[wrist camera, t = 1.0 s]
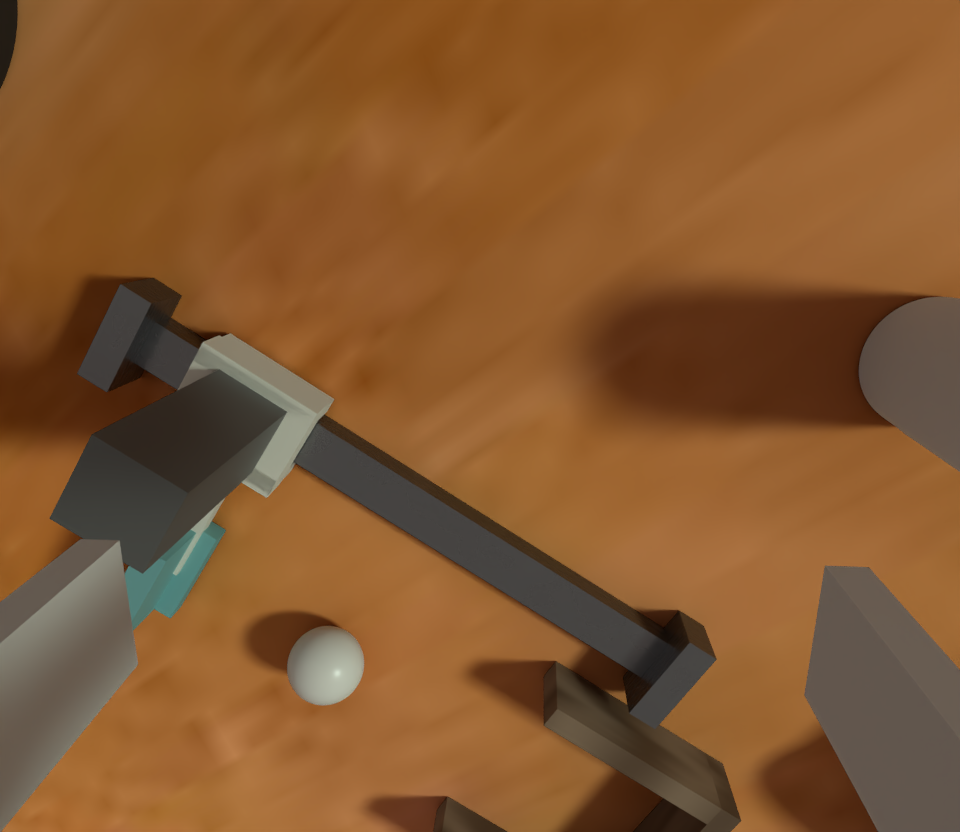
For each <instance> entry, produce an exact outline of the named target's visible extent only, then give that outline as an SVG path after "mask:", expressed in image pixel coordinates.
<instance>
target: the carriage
mask: <svg viewBox="0 0 960 832" xmlns="http://www.w3.org/2000/svg"><path fill="white" fill-rule="evenodd" d="M333 401H334V399H333V398H332V397H330V396H329V395H327V394H325V393H324V392H322V391H321V390H319V389H317V388H316V387H314V386H313V385H311V384H310V383H308V382H306V381H305V380H303V379H302V378H300V377H298V376H297V375H295V374H294V373H292V372H291V371H289V370H287V369H286V368H284V367H283V366H281V365H279V364H278V363H276V362H275V361H273V360H272V359H270V358H268V357H267V356H265V355H264V354H262V353H260V352H259V351H257V350H256V349H254V348H253V347H251V346H249V345H248V344H246V343H245V342H243V341H241V340H240V339H238V338H237V337H235V336H234V335H232V334H228V335H225V336H223V337H222V336H220V335H219V336H216V337H214V338H212V339H209V340H207V341H204V342H203V343H202V345H201V347H200V348H199V350H198V352H197V354H196V356H195V358H194V360H193V362H192V364H191V365H190V367H189V369H188V371H187V373H186V375H185V377H184V379H183V380H182V382H181V384H180V386H179V388H178V390H177V391H176V392H174V393H172V394H170V395H168V396H166V397H164V398H162V399H160V400H158V401H156V402H154V403H152V404H150V405H148V406H146V407H144V408H142V409H140V410H139V411H137V412H135V413H133V414H131V415H129V416H127V417H125V418H123V419H121V420H119V421H117V422H115V423H113V424H111V425H109V426H107V427H105V428H103V429H101V430H100V431H98V432H96V433H94V434H92V435H91V437H90V439H89V441H88V443H87V445H86V447H85V449H84V451H83V453H82V455H81V457H80V459H79V461H78V463H77V465H76V467H75V469H74V471H73V473H72V475H71V477H70V479H69V481H68V483H67V485H66V487H65V489H64V491H63V493H62V495H61V497H60V499H59V501H58V503H57V505H56V507H55V509H54V511H53V513H52V515H51V517H50V519H51V520H53V521H55V522H56V523H58V524H60V525H61V526H63V527H65V528H66V529H68V530H70V531H71V532H73V533H75V534H76V535H78V536H80V537H81V538H83V539H95V540H120V547H121V554H122V560H123V562H124V563H125V564H127V565H129V567H128V569H127V570H126V572H125V580H126V587H127V594H128V601H129V607H130V614H131V621H132V627H133V630H134V629H135V628H136V627H137V626H138V625H139V624H140V623H141V622H142V621H143V620H144V619H145V618H146V617H147V616H148V615H149V614H150V613H151V612H152V610H153V609H155V610H157V611H159V612H160V613H162V614H164V615H165V616H167V617H169V618H171V617H172V616H173V615H174V614H175V613H176V612H177V611H178V609H179V608H180V607H181V606H182V604H183V602H184V601H185V599H186V597H187V595H188V594H189V592H190V590H191V589H192V587H193V585H194V584H195V582H196V580H197V579H198V577H199V575H200V573H201V572H202V570H203V568H204V567H205V565H206V563H207V562H208V560H209V558H210V557H211V555H212V553H213V551H214V550H215V548H216V546H217V545H218V543H219V541H220V540H221V538H222V536H223V535H224V533H225V531H226V530H225V529H223V528H222V527H220V526H218V525H217V524H215V523H213V522H212V519H213V518H214V516H215V514H216V513H217V511H218V509H219V507H220V506H221V504H222V502H223V501H224V499H225V497H226V496H227V495H228V494H229V493H231V492H232V491H233V490H234V489H235V488H236V487H237V486H238V485H239V484H240V483H241V482H242V483H243V484H245V485H246V486H248V487H250V488H251V489H253V490H255V491H256V492H258V493H259V494H261V495H263V496H264V497H266V498H267V497H268V496H269V495H270V494H271V493H272V492H273V491H274V490H275V489H276V487H277V486H278V485H279V484H280V483H281V481H282V480H283V479H284V478H285V477H286V476H287V475H288V474H289V473H290V471H291V470H292V468H293V467H294V465H295V464H296V463H295V462H293V461H294V459H295V458H296V456H297V454H298V453H299V451H300V449H301V448H302V446H303V444H304V443H305V441H306V439H307V438H308V436H309V434H310V433H311V431H312V430H313V428H314V426H315V425H316V423H317V421H318V420H319V419H320V418H321V417H322V416H323V415H324V414H325V413H326V412H327V411H328V409H329V407H330V406H331V404H332V402H333Z"/></svg>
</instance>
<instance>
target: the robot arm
mask: <svg viewBox="0 0 960 832" xmlns="http://www.w3.org/2000/svg"><path fill="white" fill-rule="evenodd" d="M16 30H17V0H0V88H1V86H2V84H3V81H4V79H5V77H6V74H7V71H8V68H9V66H10V62H11V58H12V54H13V50H14V44H15V38H16ZM137 665H138V661H137V654H136V647H135V641H134V634H133V627H132V621H131V614H130V607H129V601H128V594H127V587H126V580H125V574H124V567H123V560H122V554H121V547H120V540H95V539H80V540H79V541H78V542H76V543H75V544H74V545H72V546H71V547H70V548H69V549H67V550H66V551H65V552H64V553H62V554H61V555H60V556H58V557H57V558H56V559H55V560H53V561H52V562H51V563H50V564H48V565H47V566H46V567H44V568H43V569H42V570H41V571H39V572H38V573H37V574H36V575H34V576H33V577H32V578H30V579H29V580H28V581H27V582H25V583H24V584H23V585H22V586H20V587H19V588H18V589H16V590H15V591H14V592H13V593H11V594H10V595H9V596H8V597H6V598H5V599H4V600H2V601H1V602H0V832H1V831H2V830H3V829H4V827H5V826H6V825H7V824H8V823H9V821H10V820H11V819H12V818H13V816H14V815H15V814H16V813H17V812H18V810H19V809H20V808H21V807H22V805H23V804H24V803H25V802H26V801H27V799H28V798H29V797H30V796H31V794H32V793H33V792H34V791H35V790H36V788H37V787H38V786H39V785H40V783H41V782H42V781H43V780H44V779H45V777H46V776H47V775H48V774H49V772H50V771H51V770H52V769H53V768H54V766H55V765H56V764H57V763H58V761H59V760H60V759H61V758H62V757H63V755H64V754H65V753H66V752H67V751H68V749H69V748H70V747H71V746H72V744H73V743H74V742H75V741H76V740H77V738H78V737H79V736H80V735H81V733H82V732H83V731H84V730H85V729H86V727H87V726H88V725H89V724H90V722H91V721H92V720H93V719H94V718H95V716H96V715H97V714H98V713H99V711H100V710H101V709H102V708H103V707H104V705H105V704H106V703H107V702H108V700H109V699H110V698H111V697H112V696H113V694H114V693H115V692H116V691H117V689H118V688H119V687H120V686H121V685H122V683H123V682H124V681H125V680H126V678H127V677H128V676H129V675H130V674H131V672H132V671H133V670H134V669H135V667H136V666H137ZM805 697H806V699H807V701H808V703H809V704H810V706H811V708H812V710H813V712H814V714H815V715H816V717H817V719H818V721H819V723H820V725H821V727H822V728H823V730H824V732H825V734H826V736H827V738H828V740H829V741H830V743H831V745H832V747H833V749H834V751H835V753H836V754H837V756H838V758H839V760H840V762H841V764H842V766H843V767H844V769H845V771H846V773H847V775H848V777H849V779H850V780H851V782H852V784H853V786H854V788H855V790H856V792H857V793H858V795H859V797H860V799H861V801H862V803H863V805H864V806H865V808H866V810H867V812H868V814H869V816H870V818H871V819H872V821H873V823H874V825H875V827H876V829H877V831H878V832H960V670H959V669H958V667H957V666H956V665H955V664H954V663H953V662H952V661H951V660H950V658H949V657H948V656H947V655H946V654H945V653H944V652H943V650H942V649H941V648H940V647H939V646H938V645H937V644H936V643H935V641H934V640H933V639H932V638H931V637H930V636H929V635H928V634H927V632H926V631H925V630H924V629H923V628H922V627H921V626H920V625H919V623H918V622H917V621H916V620H915V619H914V618H913V617H912V616H911V614H910V613H909V612H908V611H907V610H906V609H905V608H904V607H903V605H902V604H901V603H900V602H899V601H898V600H897V599H896V598H895V596H894V595H893V594H892V593H891V592H890V591H889V590H888V589H887V587H886V586H885V585H884V584H883V583H882V582H881V581H880V580H879V578H878V577H877V576H876V575H875V574H874V573H873V572H872V570H871V569H870V568H869V567H847V566H825V569H824V575H823V581H822V588H821V594H820V600H819V607H818V613H817V619H816V625H815V632H814V638H813V644H812V651H811V657H810V663H809V670H808V676H807V682H806V688H805Z"/></svg>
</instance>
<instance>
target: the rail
mask: <svg viewBox="0 0 960 832" xmlns="http://www.w3.org/2000/svg"><path fill="white" fill-rule="evenodd" d="M180 298H181V295H180V294H178V293H177V292H175V291H174V290H172V289H170V288H169V287H167V286H166V285H164V284H162V283H161V282H159V281H158V280H156V279H155V278H150V279H144V280H139V281H134V282H129V283H123V284H120V286H119V288H118V290H117V292H116V294H115V296H114V298H113V300H112V302H111V304H110V307H109V309H108V311H107V313H106V315H105V317H104V319H103V321H102V323H101V325H100V327H99V329H98V331H97V333H96V336H95V338H94V340H93V342H92V344H91V346H90V348H89V350H88V352H87V354H86V356H85V358H84V360H83V362H82V365H81V367H80V369H79V371H78V373H77V374H78V375H80V376H81V377H83V378H84V379H86V380H88V381H89V382H91V383H93V384H94V385H96V386H97V387H99V388H101V389H102V390H104V391H106V392H109V391H111V390H113V389H116V388H118V387H120V386H123V385H125V384H127V383H129V382H132V381H134V380H136V379H139V378H140V377H141V375H142V373H143V371H144V369H145V370H146V371H148V372H150V373H151V374H153V375H155V376H156V377H158V378H159V379H161V380H163V381H164V382H166V383H167V384H169V385H171V386H172V387H174V388H175V389H177V390H178V388H179V386H180V384H181V382H182V380H183V379H184V377H185V375H186V373H187V371H188V369H189V367H190V365H191V364H192V362H193V360H194V358H195V356H196V354H197V352H198V350H199V348H200V347H201V345H202V343H203V342H204V341H207V340H205V339H204V338H202V337H200V336H199V335H197V334H196V333H194V332H192V331H191V330H189V329H188V328H186V327H185V326H183V325H181V324H180V323H178V322H177V321H175V320H173V319H172V318H171V316H172V314H173V312H174V310H175V308H176V306H177V304H178V302H179V300H180ZM293 462H295V463H296V464H298V465H300V466H301V467H303V468H304V469H306V470H308V471H309V472H311V473H312V474H314V475H316V476H317V477H319V478H320V479H322V480H324V481H325V482H327V483H329V484H330V485H332V486H333V487H335V488H337V489H338V490H340V491H341V492H343V493H345V494H346V495H348V496H349V497H351V498H353V499H354V500H356V501H358V502H359V503H361V504H362V505H364V506H366V507H367V508H369V509H370V510H372V511H374V512H375V513H377V514H378V515H380V516H382V517H383V518H385V519H387V520H388V521H390V522H391V523H393V524H395V525H396V526H398V527H399V528H401V529H403V530H404V531H406V532H407V533H409V534H411V535H412V536H414V537H416V538H417V539H419V540H420V541H422V542H424V543H425V544H427V545H428V546H430V547H432V548H433V549H435V550H437V551H438V552H440V553H441V554H443V555H445V556H446V557H448V558H449V559H451V560H453V561H454V562H456V563H457V564H459V565H461V566H462V567H464V568H466V569H467V570H469V571H470V572H472V573H474V574H475V575H477V576H478V577H480V578H482V579H483V580H485V581H486V582H488V583H490V584H491V585H493V586H495V587H496V588H498V589H499V590H501V591H503V592H504V593H506V594H507V595H509V596H511V597H512V598H514V599H515V600H517V601H519V602H520V603H522V604H524V605H525V606H527V607H528V608H530V609H532V610H533V611H535V612H536V613H538V614H540V615H541V616H543V617H544V618H546V619H548V620H549V621H551V622H553V623H554V624H556V625H557V626H559V627H561V628H562V629H564V630H565V631H567V632H569V633H570V634H572V635H573V636H575V637H577V638H578V639H580V640H582V641H583V642H585V643H586V644H588V645H590V646H591V647H593V648H594V649H596V650H598V651H599V652H601V653H602V654H604V655H606V656H607V657H609V658H611V659H612V660H614V661H615V662H617V663H619V664H620V665H622V666H623V667H625V668H627V669H628V670H629V671H628V672H627V673H626V674H625V675H624V677H623V681H624V686H625V692H626V698H627V704H628V710H629V714H631V715H633V716H634V717H636V718H638V719H639V720H641V721H642V722H644V723H646V724H647V725H649V726H651V727H652V728H654V729H656V728H657V726H658V725H659V724H660V723H661V722H662V721H663V720H664V718H665V717H666V716H667V715H668V714H669V713H670V712H671V710H672V709H673V708H674V707H675V706H676V705H677V704H678V703H679V701H680V700H681V699H682V698H683V697H684V696H685V695H686V693H687V692H688V691H689V690H690V689H691V688H692V687H693V686H694V684H695V683H696V682H697V681H698V680H699V679H700V678H701V676H702V675H703V674H704V673H705V672H706V671H707V670H708V668H709V667H710V666H711V665H712V664H713V663H714V662H715V661H716V657H715V654H714V651H713V649H712V646H711V644H710V641H709V638H708V636H707V633H706V630H705V628H704V626H703V625H701V624H700V623H698V622H697V621H695V620H693V619H692V618H690V617H689V616H687V615H685V614H684V613H682V612H681V611H678V612H677V614H676V615H675V616H674V617H673V618H672V619H671V621H670V622H669V623H668V624H667V625H666V627H665V628H663V627H661V626H660V625H658V624H657V623H655V622H653V621H652V620H650V619H649V618H647V617H645V616H644V615H642V614H641V613H639V612H637V611H636V610H634V609H633V608H631V607H630V606H628V605H626V604H625V603H623V602H622V601H620V600H618V599H617V598H615V597H614V596H612V595H610V594H609V593H607V592H606V591H604V590H603V589H601V588H599V587H598V586H596V585H595V584H593V583H591V582H590V581H588V580H587V579H585V578H583V577H582V576H580V575H579V574H577V573H576V572H574V571H572V570H571V569H569V568H568V567H566V566H564V565H563V564H561V563H560V562H558V561H556V560H555V559H553V558H552V557H550V556H548V555H547V554H545V553H544V552H542V551H541V550H539V549H537V548H536V547H534V546H533V545H531V544H529V543H528V542H526V541H525V540H523V539H521V538H520V537H518V536H517V535H515V534H514V533H512V532H510V531H509V530H507V529H506V528H504V527H502V526H501V525H499V524H498V523H496V522H494V521H493V520H491V519H490V518H488V517H487V516H485V515H483V514H482V513H480V512H479V511H477V510H475V509H474V508H472V507H471V506H469V505H467V504H466V503H464V502H463V501H461V500H459V499H458V498H456V497H455V496H453V495H452V494H450V493H448V492H447V491H445V490H444V489H442V488H440V487H439V486H437V485H436V484H434V483H432V482H431V481H429V480H428V479H426V478H425V477H423V476H421V475H420V474H418V473H417V472H415V471H413V470H412V469H410V468H409V467H407V466H405V465H404V464H402V463H401V462H399V461H398V460H396V459H394V458H393V457H391V456H390V455H388V454H386V453H385V452H383V451H382V450H380V449H378V448H377V447H375V446H374V445H372V444H370V443H369V442H367V441H366V440H364V439H363V438H361V437H359V436H358V435H356V434H355V433H353V432H351V431H350V430H348V429H347V428H345V427H343V426H342V425H340V424H339V423H337V422H336V421H334V420H332V419H331V418H329V417H328V416H326V415H323V416H322V417H321V418H320V419H319V420H318V421H317V423H316V425H315V426H314V428H313V430H312V431H311V433H310V434H309V436H308V438H307V439H306V441H305V443H304V444H303V446H302V448H301V449H300V451H299V453H298V454H297V456H296V458H295V459H294V461H293Z"/></svg>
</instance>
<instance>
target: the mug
mask: <svg viewBox="0 0 960 832" xmlns="http://www.w3.org/2000/svg"><path fill="white" fill-rule="evenodd" d="M859 380H860V385H861V389H862V391H863V394H864V396H865V398H866V400H867V401H868V403H869V404H870V406H871V407H872V408H873V409H874V410H875V411H876V412H877V413H878V414H879V415H880V416H882V417H883V418H884V419H886V420H887V421H889V422H890V423H891V424H893V425H894V426H896V427H897V428H898V429H900V430H901V431H902V432H903V433H905V434H906V435H907V436H909V437H910V438H912V439H913V440H915V441H916V442H918V443H919V444H920V445H922V446H923V447H925V448H926V449H928V450H929V451H931V452H932V453H934V454H935V455H936V456H938V457H939V458H941V459H942V460H944V461H945V462H947V463H948V464H949V465H951V466H952V467H954V468H955V469H957V470H958V471H959V472H960V299H958V298H950V297H929V298H924V299H919V300H916V301H913V302H910V303H907V304H905V305H903V306H901V307H899V308H897V309H896V310H894V311H893V312H891V313H890V314H889V315H887V316H886V317H885V318H884V319H883V320H882V321H881V322H880V323H879V324H878V325H877V326H876V327H875V328H874V330H873V331H872V332H871V334H870V335H869V337H868V339H867V341H866V343H865V345H864V347H863V350H862V353H861V357H860V362H859Z"/></svg>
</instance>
